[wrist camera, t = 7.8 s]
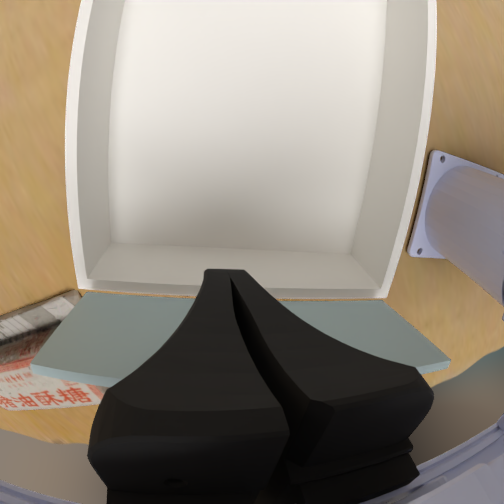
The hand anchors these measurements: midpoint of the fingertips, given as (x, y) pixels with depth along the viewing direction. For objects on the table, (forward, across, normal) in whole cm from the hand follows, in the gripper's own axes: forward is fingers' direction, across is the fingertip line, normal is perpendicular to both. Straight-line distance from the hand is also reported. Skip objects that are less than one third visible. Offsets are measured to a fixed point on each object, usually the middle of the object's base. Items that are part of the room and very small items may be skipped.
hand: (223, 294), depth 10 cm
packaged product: (+10, +15, +14) cm, 23 cm away
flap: (0, -1, +2) cm, 2 cm away
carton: (+9, -2, -8) cm, 12 cm away
